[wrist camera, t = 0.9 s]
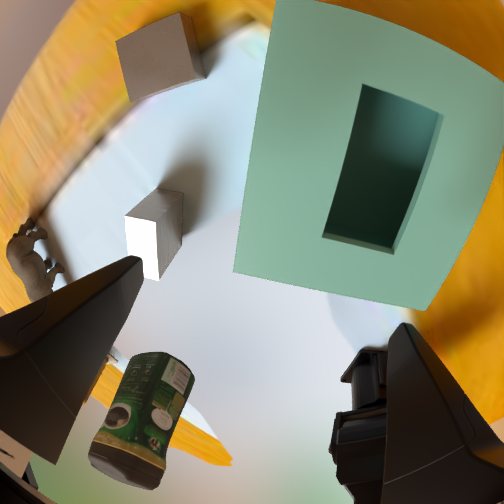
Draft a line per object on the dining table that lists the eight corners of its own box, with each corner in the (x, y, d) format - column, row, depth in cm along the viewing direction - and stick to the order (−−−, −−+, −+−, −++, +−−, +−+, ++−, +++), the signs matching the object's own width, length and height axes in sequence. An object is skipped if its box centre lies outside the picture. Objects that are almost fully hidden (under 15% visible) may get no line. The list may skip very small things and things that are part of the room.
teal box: (398, 247, 21) (425, 311, 15) (254, 212, 22) (233, 272, 16) (453, 82, 13) (516, 91, 7) (286, 27, 14) (277, -6, 8)
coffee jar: (158, 382, 41) (118, 482, 25) (125, 351, 37) (72, 458, 22) (206, 379, 37) (168, 500, 22) (171, 345, 34) (116, 478, 18)
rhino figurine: (69, 304, 34) (47, 334, 29) (24, 219, 27) (-8, 245, 22) (87, 305, 33) (64, 337, 28) (40, 214, 26) (5, 241, 21)
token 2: (181, 245, 25) (158, 280, 21) (157, 239, 25) (131, 273, 21) (183, 192, 22) (155, 222, 18) (156, 188, 22) (124, 216, 18)
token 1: (207, 78, 17) (195, 78, 15) (147, 98, 18) (130, 102, 16) (192, 18, 14) (179, 12, 12) (133, 42, 16) (115, 41, 14)
